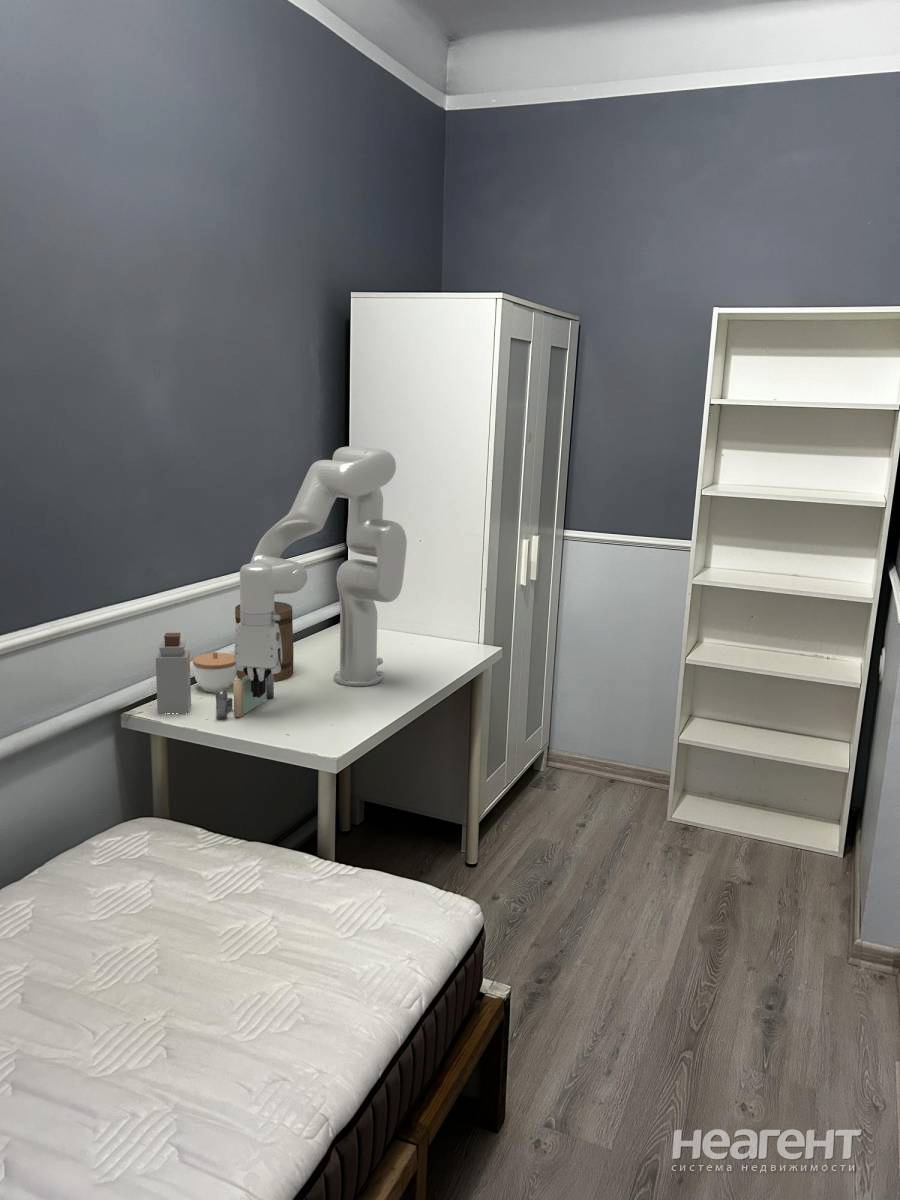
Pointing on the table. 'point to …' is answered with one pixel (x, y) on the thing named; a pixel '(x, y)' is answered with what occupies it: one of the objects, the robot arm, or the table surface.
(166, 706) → the perfume bottle
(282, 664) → the wooden container
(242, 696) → the gate
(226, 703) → the post
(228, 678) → the lidded jar
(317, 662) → the table surface
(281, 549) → the robot arm
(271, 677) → the hinge post
